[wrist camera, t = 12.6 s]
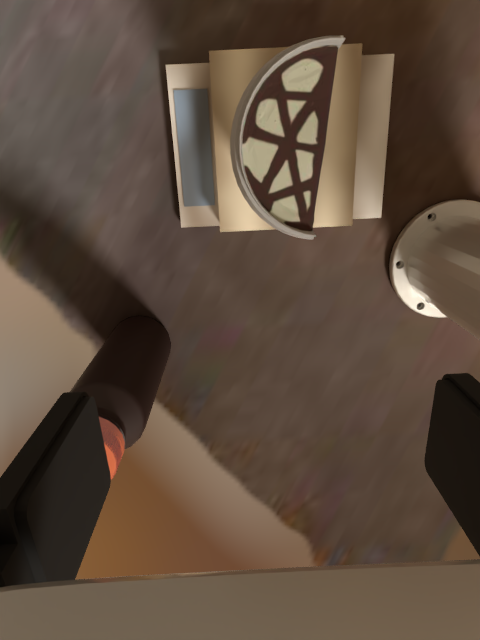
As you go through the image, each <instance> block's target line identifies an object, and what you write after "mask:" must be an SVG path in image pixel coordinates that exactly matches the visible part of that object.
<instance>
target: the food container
mask: <svg viewBox="0 0 480 640" xmlns="http://www.w3.org/2000/svg"><path fill="white" fill-rule="evenodd" d="M344 40H345V38H343V36H323V37H317V38H312V39H308V40H305V41H303V42H300V43H297V44H294V45H292V46H290V47H288V48H287V49H285V50H283V51H281V52H280V53H278V54H277V55H275V56H274V57H273V58H272V59H271V60H269V61H268V62H267V63H266V64H264V66H263V67H262V68H261V69H260V70H259V71H258V72H257V73H256V75H255V76H254V77H253V78H252V80H251V81H250V83H249V84H248V86H247V88H246V89H245V91H244V92H243V95H242V97H241V99H240V101H239V103H238V106H237V109H236V112H235V116H234V119H233V122H232V130H231V137H230V155H231V161H232V168H233V172H234V175H235V178H236V182H237V185H238V187H239V189H240V191H241V193H242V195H243V197H244V198H245V200H246V201H247V203H248V204H249V205H250V207H251V208H252V210H253V211H254V212H255V213H256V214H257V215H258V216H259V217H260V218H261V219H262V220H264V221H265V222H266V223H268V224H269V225H270V226H272V227H273V228H275V229H277V230H279V231H281V232H283V233H285V234H288V235H291V236H294V237H297V238H303V239H314V237H316V235H315V233H314V232H313V230H312V229H313V223H314V213H315V206H316V199H317V193H318V186H319V180H320V173H321V167H322V161H323V156H324V150H325V143H326V135H327V126H328V118H329V111H330V103H331V96H332V89H333V82H334V75H335V68H336V61H337V53H338V49H339V48H340V46H341V45H342V43H343V42H344Z"/></svg>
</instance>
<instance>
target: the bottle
mask: <svg viewBox="0 0 480 640" xmlns="http://www.w3.org/2000/svg"><path fill="white" fill-rule="evenodd" d="M170 348H171V342H170V338H169V334H168V333H167V331H166V330H165V328H164V327H163V326H162V325H161V324H160V323H158V322H157V321H156V320H153V319H151V318H149V317H142V316H136V317H130V318H127V319H125V320H124V321H122V322H120V323H119V324H118V325H117V327H116V328H115V329H114V330H113V332H112V333H111V334H110V336H109V337H108V339H107V340H106V341H105V343H104V344H103V346H102V347H101V349H100V350H99V351H98V353H97V354H96V356H95V357H94V358H93V360H92V361H91V363H90V364H89V365H88V367H87V368H86V370H85V371H84V373H83V374H82V375H81V377H80V378H79V380H78V381H77V383H76V384H75V385H74V387H73V388H72V390H71V391H70V392H86V393H87V394H88V396H89V397H94V399H95V402H96V406H97V411H98V416H99V421H100V426H101V431H102V436H103V440H104V445H105V450H106V455H107V460H108V465H109V470H110V475H111V479H112V478H113V477H114V475H115V474H116V471H117V469H118V466H119V463H120V461H121V458H122V455H123V453H124V449H127V448H129V447H131V446H132V445H133V444H134V443H135V442H136V441H137V440H138V439H139V438H140V437H141V435H142V433H143V431H144V429H145V427H146V424H147V421H148V418H149V414H150V411H151V408H152V405H153V402H154V399H155V396H156V393H157V390H158V387H159V384H160V381H161V378H162V375H163V372H164V369H165V366H166V363H167V360H168V357H169V354H170Z"/></svg>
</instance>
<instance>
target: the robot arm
mask: <svg viewBox="0 0 480 640" xmlns="http://www.w3.org/2000/svg"><path fill="white" fill-rule="evenodd" d="M429 214H430V217H429V218H427V217H428V215H429ZM398 261H399V264H398V265H396V263H397V262H398ZM389 273H390V279H391V283H392V287H393V289H394V291H395V292H396V294H397V296H398V297H399V298H400V299H401V301H402V302H403V303H404V304H406V305H407V306H408V307H409V308H410V309H412V310H414V311H415V312H417V313H419V314H422V315H425V316H429V317H436V318H443V317H448V318H449V319H451V320H452V321H454V322H455V323H456V324H458V325H459V326H461V327H462V328H463V329H465V330H466V331H467V332H469V333H470V334H472V335H473V336H474V337H476V338H477V339H479V340H480V202H476V201H472V200H464V199H458V200H448V201H444V202H440V203H437V204H435V205H433V206H431V207H428V208H427V209H425V210H423V211H422V212H420V213H419V214H417V215H416V216H415V217H414V218H413V219H412V220H411V221H410V222H409V223H408V224H407V225H406V226H405V227H404V229H403V230H402V231H401V233H400V234H399V236H398V238H397V240H396V242H395V244H394V246H393V249H392V252H391V256H390V263H389ZM418 303H419V305H417V304H418ZM425 467H426V470H427V473H428V475H429V476H430V478H431V479H432V481H433V482H434V484H435V486H436V487H437V489H438V490H439V492H440V494H441V495H442V497H443V498H444V500H445V502H446V503H447V505H448V506H449V508H450V510H451V511H452V513H453V514H454V516H455V518H456V519H457V521H458V522H459V524H460V526H461V527H462V529H463V530H464V532H465V533H466V535H467V537H468V538H469V540H470V542H471V543H472V544H473V546H474V548H475V549H476V551H477V553H478V554H479V556H480V383H479V382H478V381H477V380H476V379H475V378H474V377H473V376H471V375H470V374H468V373H461V374H446V375H444V376H443V378H442V380H438V381H437V383H436V387H435V394H434V400H433V407H432V414H431V420H430V427H429V433H428V440H427V447H426V453H425ZM110 482H111V475H110V470H109V465H108V460H107V455H106V450H105V445H104V440H103V436H102V431H101V426H100V421H99V416H98V411H97V406H96V402H95V399H94V397H89V396H88V394H87V393H86V392H67V393H63V394H62V395H61V396H60V398H59V399H58V400H57V401H56V403H55V404H54V406H53V407H52V408H51V410H50V411H49V412H48V414H47V415H46V416H45V418H44V419H43V420H42V422H41V423H40V425H39V426H38V427H37V429H36V430H35V431H34V433H33V434H32V435H31V437H30V438H29V440H28V441H27V442H26V444H25V445H24V446H23V448H22V449H21V450H20V452H19V453H18V455H17V456H16V457H15V458H14V460H13V461H12V463H11V464H10V465H9V467H8V468H7V469H6V471H5V472H4V473H3V475H2V476H1V478H0V640H480V560H455V561H431V562H407V563H384V564H361V565H339V566H318V567H298V568H277V569H258V570H237V571H217V572H199V573H180V574H164V575H163V574H162V575H143V576H126V577H110V578H95V579H79V580H75V578H76V575H77V573H78V570H79V567H80V565H81V562H82V559H83V557H84V554H85V552H86V549H87V546H88V544H89V541H90V538H91V536H92V533H93V530H94V527H95V525H96V522H97V520H98V517H99V514H100V512H101V509H102V506H103V504H104V501H105V499H106V496H107V493H108V491H109V488H110Z"/></svg>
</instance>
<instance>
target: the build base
mask: <svg viewBox="0 0 480 640" xmlns="http://www.w3.org/2000/svg"><path fill="white" fill-rule="evenodd" d="M287 48H288V47H277V48H257V49H236V50H216V51H209V61H210V63H193V64H172V65H166V74H167V84H168V95H169V105H170V115H171V126H172V136H173V146H174V157H175V167H176V177H177V188H178V198H179V208H180V218H181V227H200V226H220V232H229V231H249V230H270V229H275V228H273V227H272V226H270V225H269V224H268V223H266V222H265V221H264V220H262V219H261V218H260V217H259V216H258V215H257V214H256V213H255V212H254V211H253V210H252V208H251V207H250V205H249V204H248V203H247V201H246V200H245V198H244V197H243V195H242V193H241V191H240V189H239V187H238V185H237V182H236V178H235V175H234V172H233V168H232V161H231V155H230V137H231V130H232V122H233V119H234V116H235V112H236V109H237V106H238V103H239V101H240V99H241V97H242V95H243V92H244V91H245V89H246V88H247V86H248V84H249V83H250V81H251V80H252V78H253V77H254V76H255V75H256V73H257V72H258V71H259V70H260V69H261V68H262V67H263V66H264V64H266V63H267V62H268V61H269V60H271V59H272V58H273V57H274V56H275V55H277V54H278V53H280V52H281V51H283V50H285V49H287ZM393 65H394V54H378V55H362V43H359V44H342V45H341V46H340V48H339V49H338V53H337V61H336V68H335V75H334V82H333V89H332V96H331V103H330V111H329V118H328V126H327V135H326V143H325V150H324V156H323V161H322V167H321V173H320V180H319V186H318V193H317V199H316V206H315V213H314V223H313V227H332V226H352V221H353V219H365V218H381V214H382V201H383V189H384V177H385V164H386V152H387V140H388V127H389V115H390V103H391V90H392V78H393Z"/></svg>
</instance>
